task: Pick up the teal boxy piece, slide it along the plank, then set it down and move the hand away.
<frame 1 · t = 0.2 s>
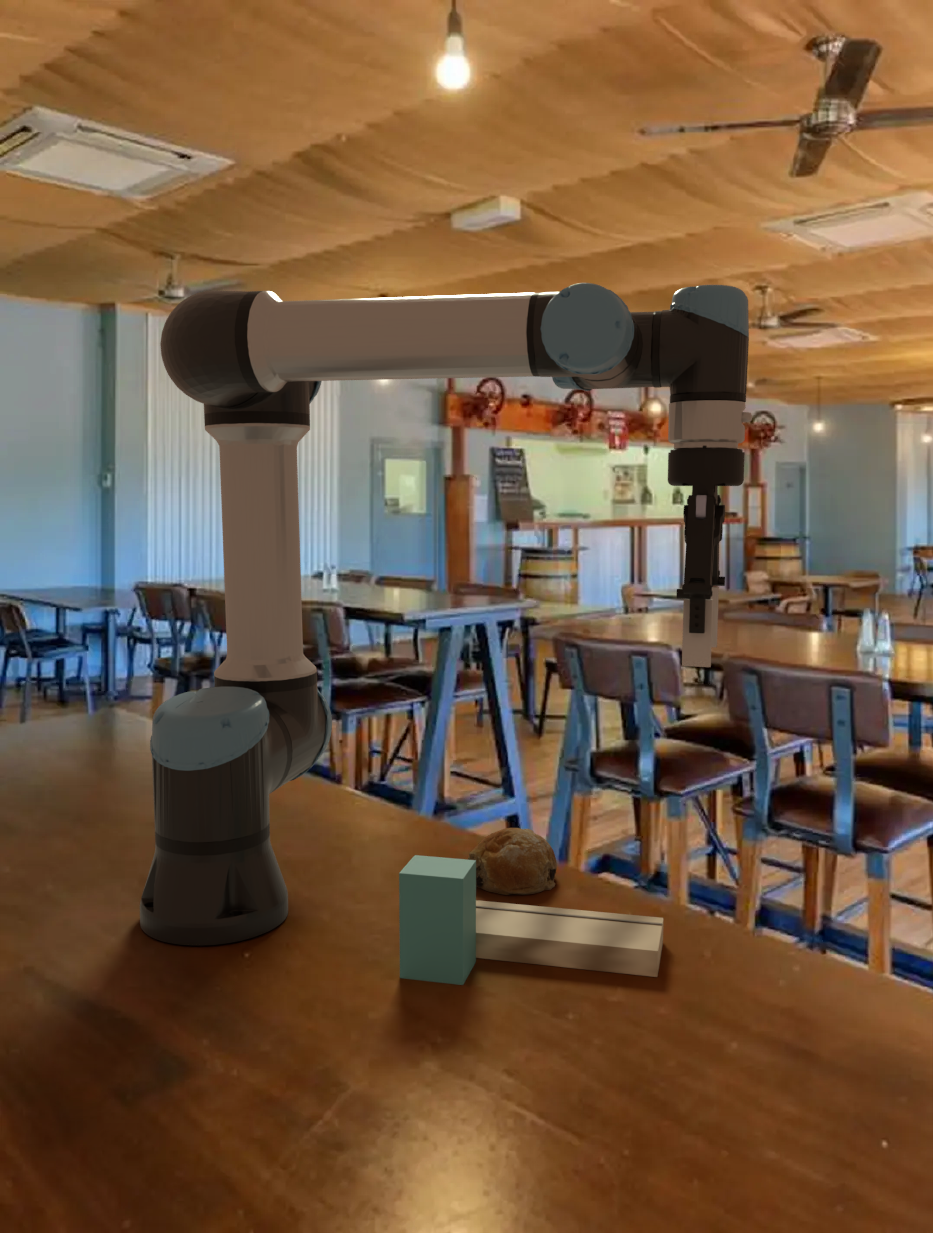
hand: (700, 656, 111), 28 cm above the table, fingers open, 13 cm apart
plank: (541, 946, 106), on the table
teal boxy piece: (438, 969, 101), on the table
bread roll: (510, 883, 124), on the table
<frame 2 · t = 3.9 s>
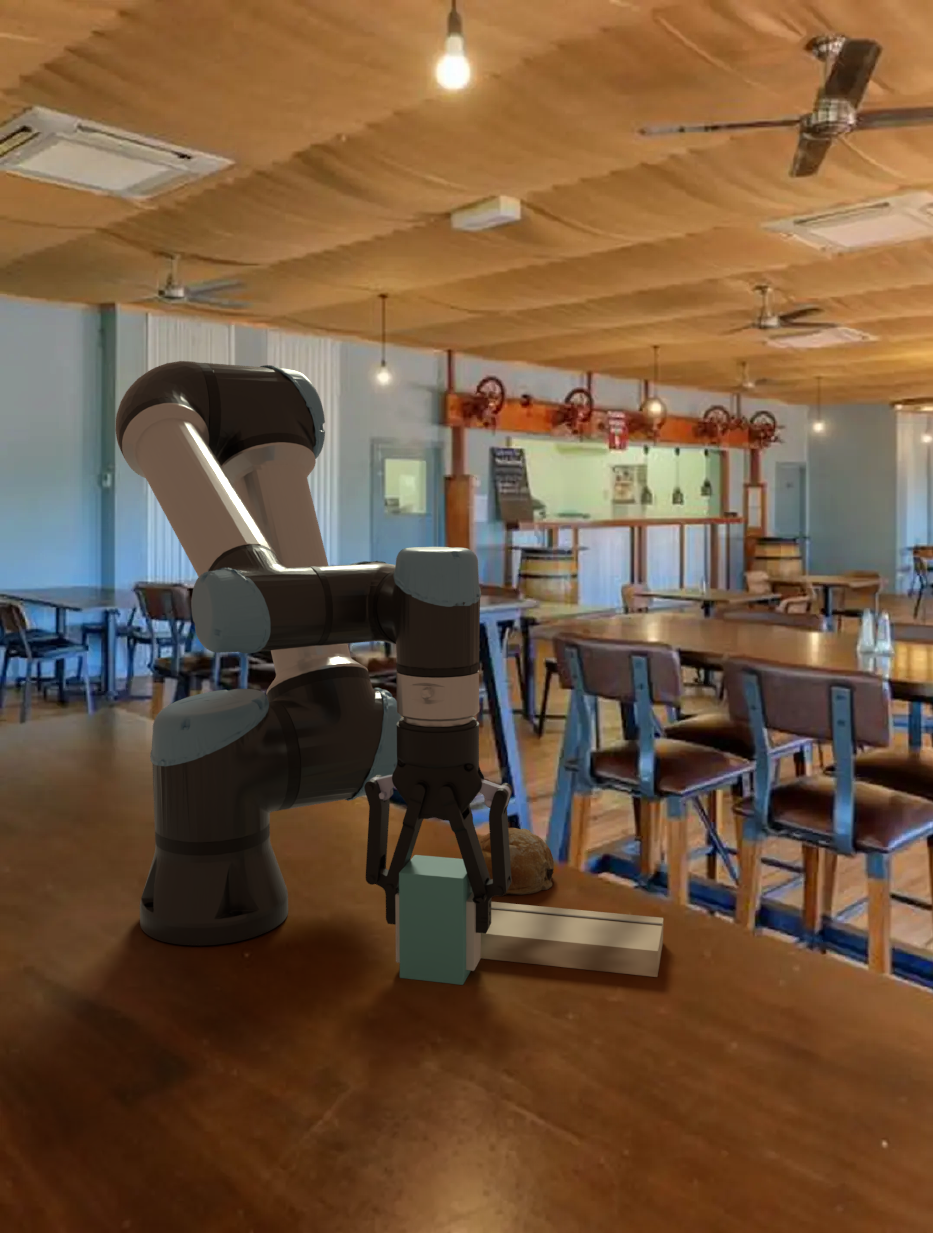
hand: (438, 959, 101), 1 cm above the table, fingers closed on teal boxy piece, 6 cm apart
teal boxy piece: (438, 969, 101), on the table, touching gripper
everything else where it was.
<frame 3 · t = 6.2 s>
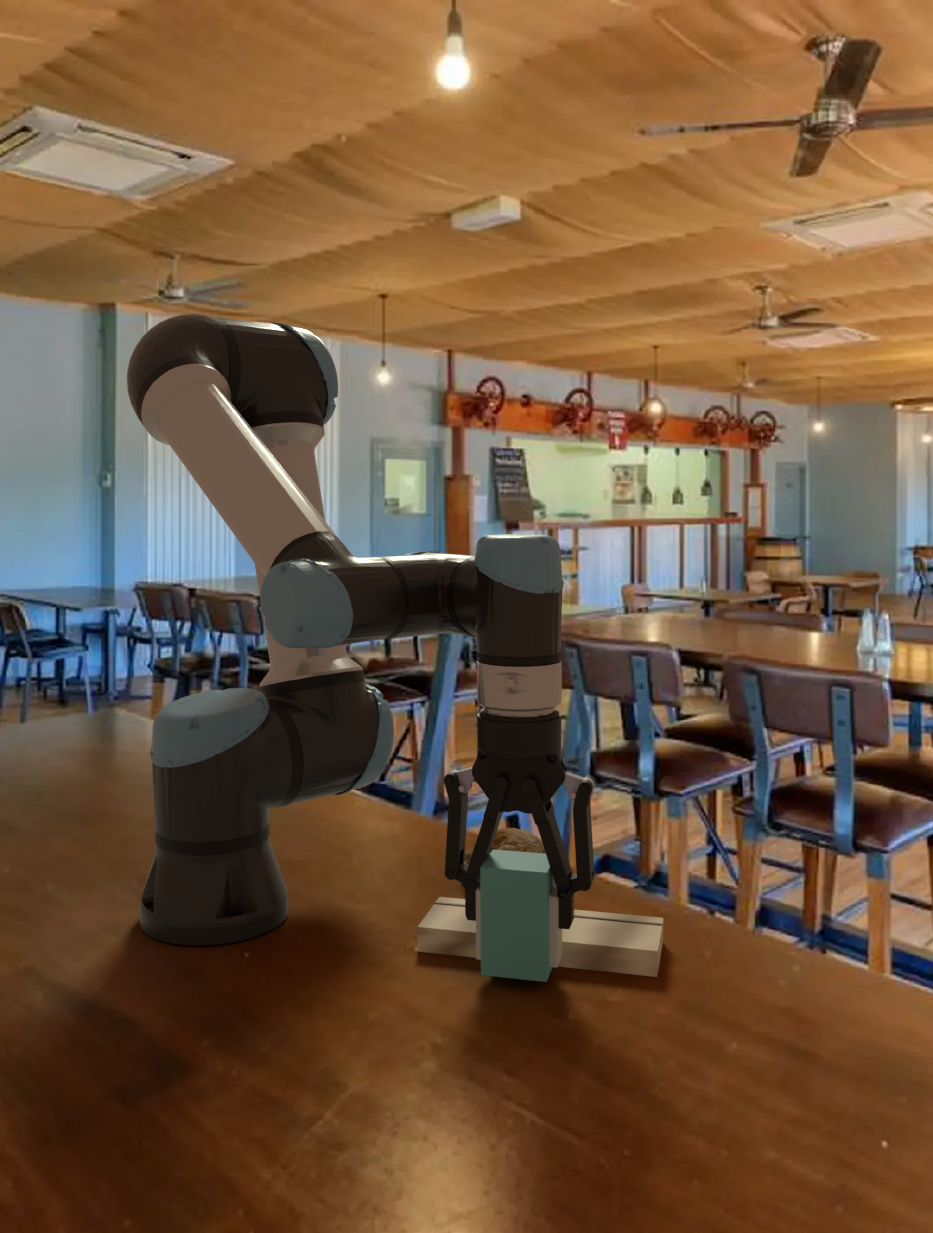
hand: (519, 956, 99), 2 cm above the table, fingers closed on teal boxy piece, 6 cm apart
teal boxy piece: (519, 966, 99), point 1 cm above the table, touching gripper
everything else where it was.
when the fingers open (1 cm above the table, at t = 8.7 s): teal boxy piece stays where it is, on the table.
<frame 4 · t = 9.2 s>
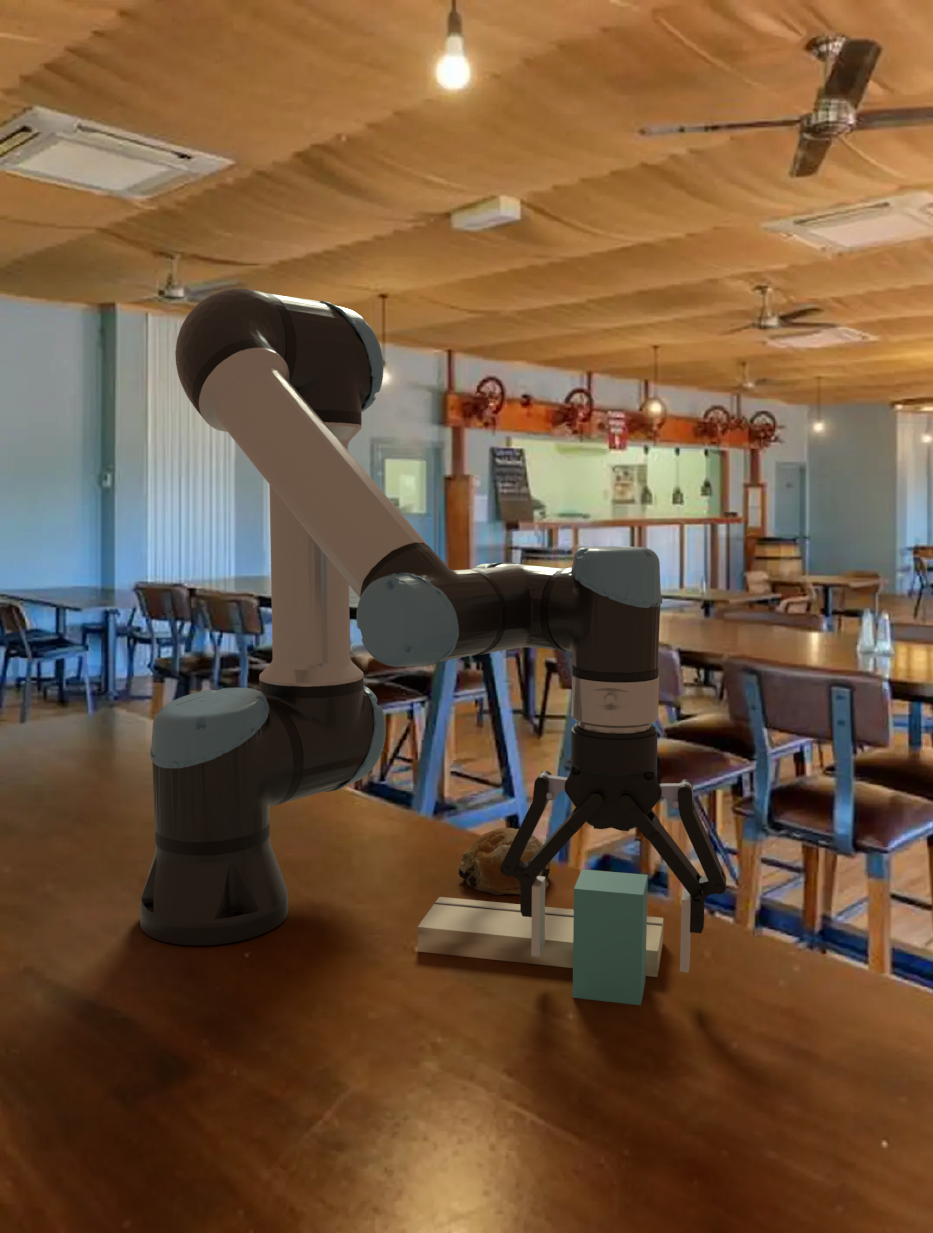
hand: (610, 958, 97), 3 cm above the table, fingers open, 12 cm apart
teal boxy piece: (609, 988, 97), on the table
everything else where it was.
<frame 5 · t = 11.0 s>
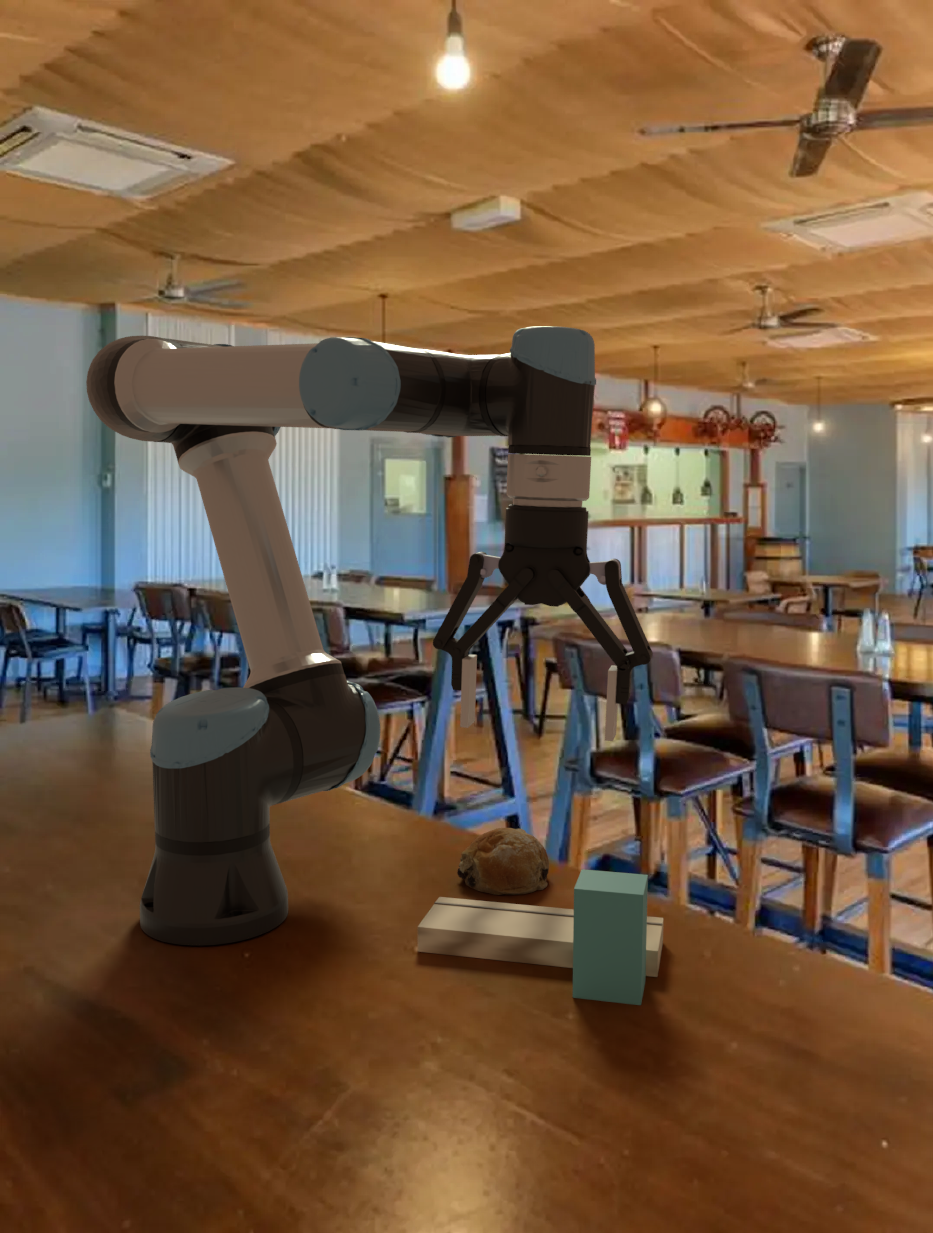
hand: (537, 731, 101), 22 cm above the table, fingers open, 13 cm apart
nothing on the table moved.
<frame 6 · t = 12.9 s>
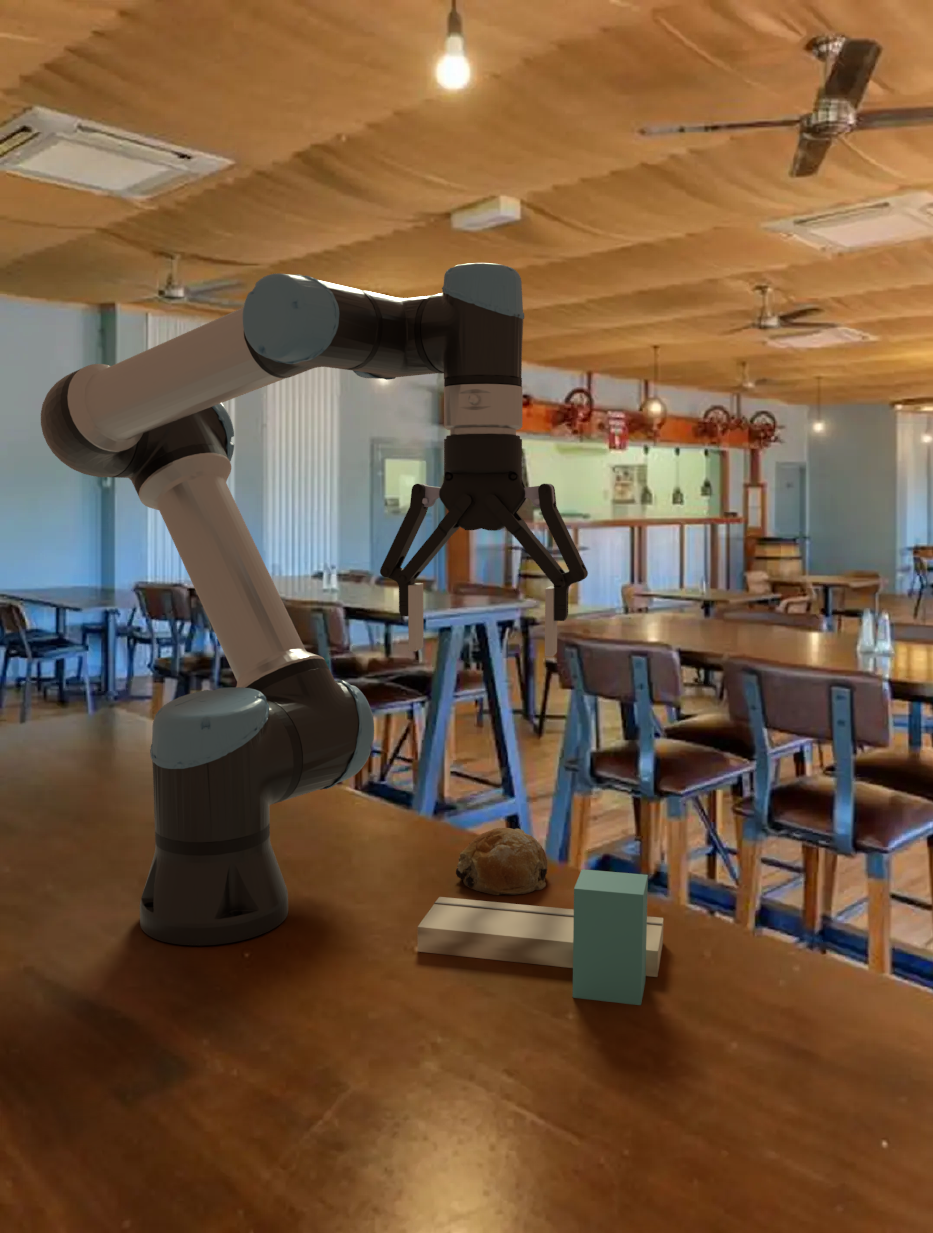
hand: (482, 652, 106), 29 cm above the table, fingers open, 13 cm apart
at the end: teal boxy piece inside the target area (0.7 cm from its centre), on the table; teal boxy piece tilted 0°; teal boxy piece moved 16.0 cm from its start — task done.
